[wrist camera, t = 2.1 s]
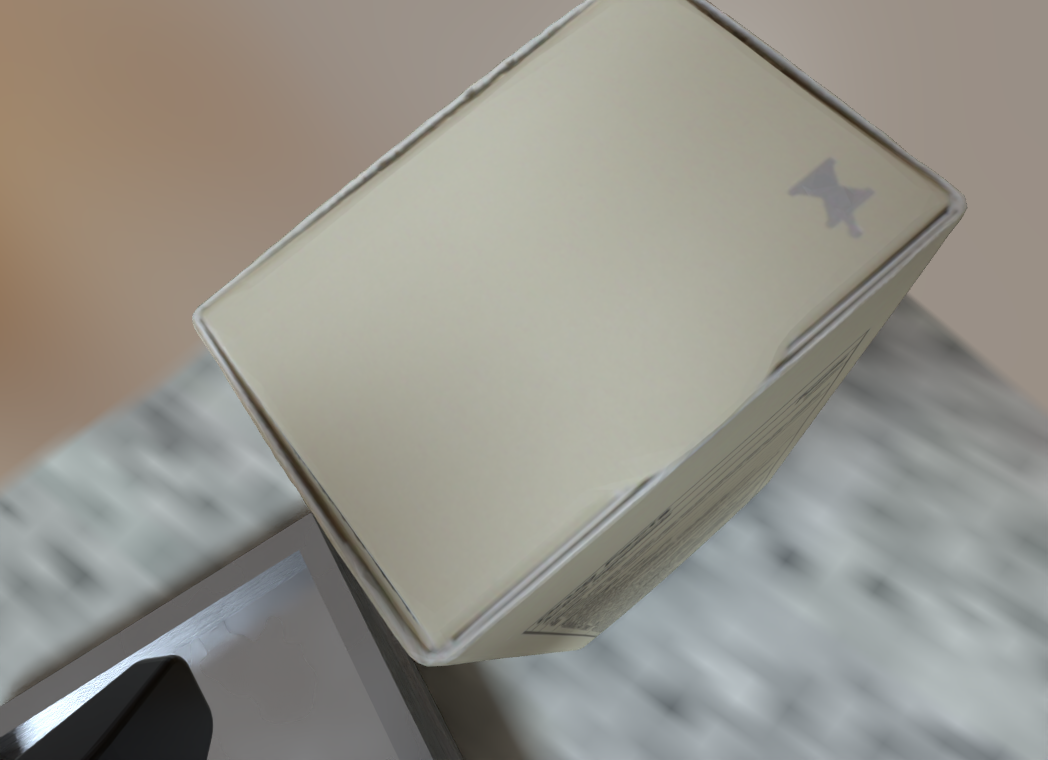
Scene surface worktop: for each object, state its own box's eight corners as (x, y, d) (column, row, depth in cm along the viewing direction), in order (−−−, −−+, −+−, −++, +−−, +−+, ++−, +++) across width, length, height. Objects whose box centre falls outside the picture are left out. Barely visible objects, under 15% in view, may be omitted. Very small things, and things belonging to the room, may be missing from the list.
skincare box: (649, 354, 19) (664, -78, 8) (775, 482, 18) (1017, 175, 6) (450, 519, 19) (157, 303, 7) (565, 667, 17) (420, 686, 6)
